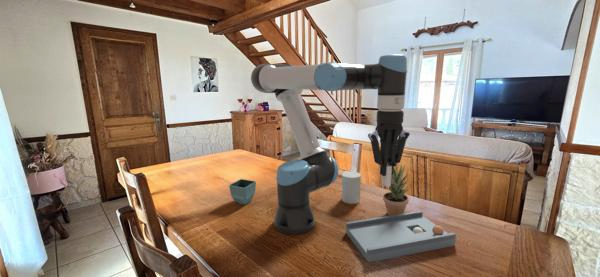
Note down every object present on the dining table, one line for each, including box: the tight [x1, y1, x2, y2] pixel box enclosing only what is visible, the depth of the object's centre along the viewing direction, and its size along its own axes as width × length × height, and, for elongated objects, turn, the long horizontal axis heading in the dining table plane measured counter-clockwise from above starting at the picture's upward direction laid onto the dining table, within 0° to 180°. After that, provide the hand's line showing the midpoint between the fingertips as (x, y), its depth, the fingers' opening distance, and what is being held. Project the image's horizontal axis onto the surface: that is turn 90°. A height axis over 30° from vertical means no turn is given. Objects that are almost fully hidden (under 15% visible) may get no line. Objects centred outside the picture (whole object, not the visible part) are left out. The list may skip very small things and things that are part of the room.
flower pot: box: [228, 178, 257, 205], centre depth 115 cm, size 9×9×9 cm
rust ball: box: [432, 224, 445, 236], centre depth 82 cm, size 3×3×3 cm
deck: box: [345, 210, 457, 263], centre depth 84 cm, size 30×16×4 cm, turn 103°
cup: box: [341, 171, 362, 205], centre depth 114 cm, size 8×8×12 cm
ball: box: [413, 227, 423, 233], centre depth 85 cm, size 3×3×3 cm
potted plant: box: [382, 163, 410, 216], centre depth 99 cm, size 10×10×25 cm
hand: (386, 184), depth 80 cm, fingers closed
